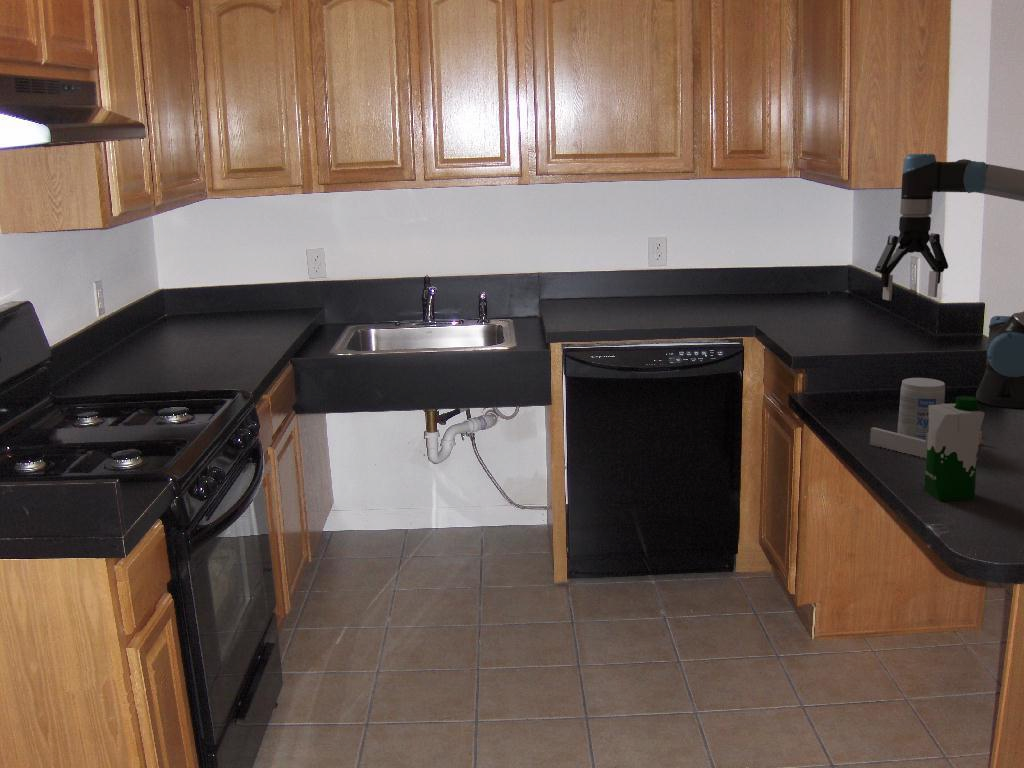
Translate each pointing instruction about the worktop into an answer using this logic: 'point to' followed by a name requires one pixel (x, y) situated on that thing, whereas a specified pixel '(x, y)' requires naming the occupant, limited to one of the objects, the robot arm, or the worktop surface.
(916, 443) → the end holder
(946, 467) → the milk carton
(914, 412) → the supplement tub
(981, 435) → the clip
